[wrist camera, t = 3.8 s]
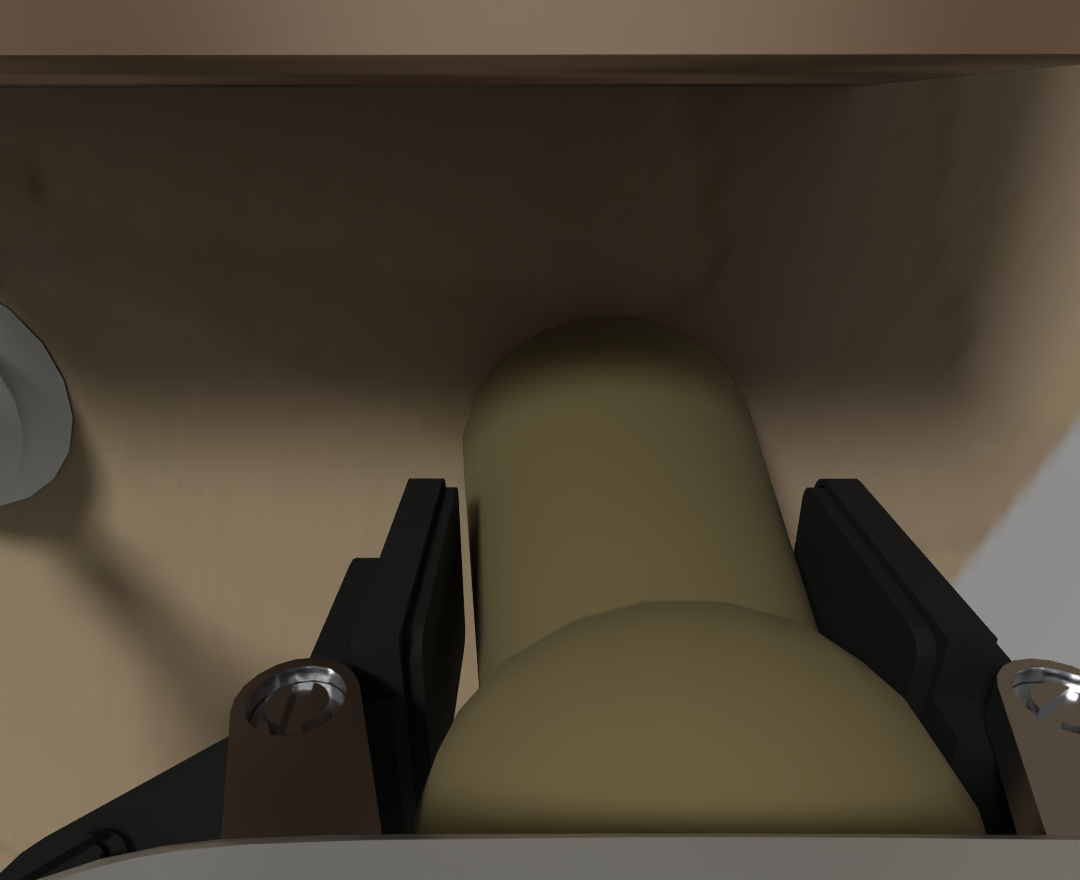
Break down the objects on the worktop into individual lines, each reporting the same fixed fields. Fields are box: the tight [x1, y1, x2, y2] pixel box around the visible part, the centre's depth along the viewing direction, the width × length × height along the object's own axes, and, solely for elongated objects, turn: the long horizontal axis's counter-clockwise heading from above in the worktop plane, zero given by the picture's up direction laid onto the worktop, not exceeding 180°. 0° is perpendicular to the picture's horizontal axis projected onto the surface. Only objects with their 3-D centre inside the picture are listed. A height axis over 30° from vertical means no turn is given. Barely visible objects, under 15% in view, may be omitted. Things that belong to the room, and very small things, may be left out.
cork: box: [411, 318, 987, 835], centre depth 10 cm, size 6×6×11 cm
